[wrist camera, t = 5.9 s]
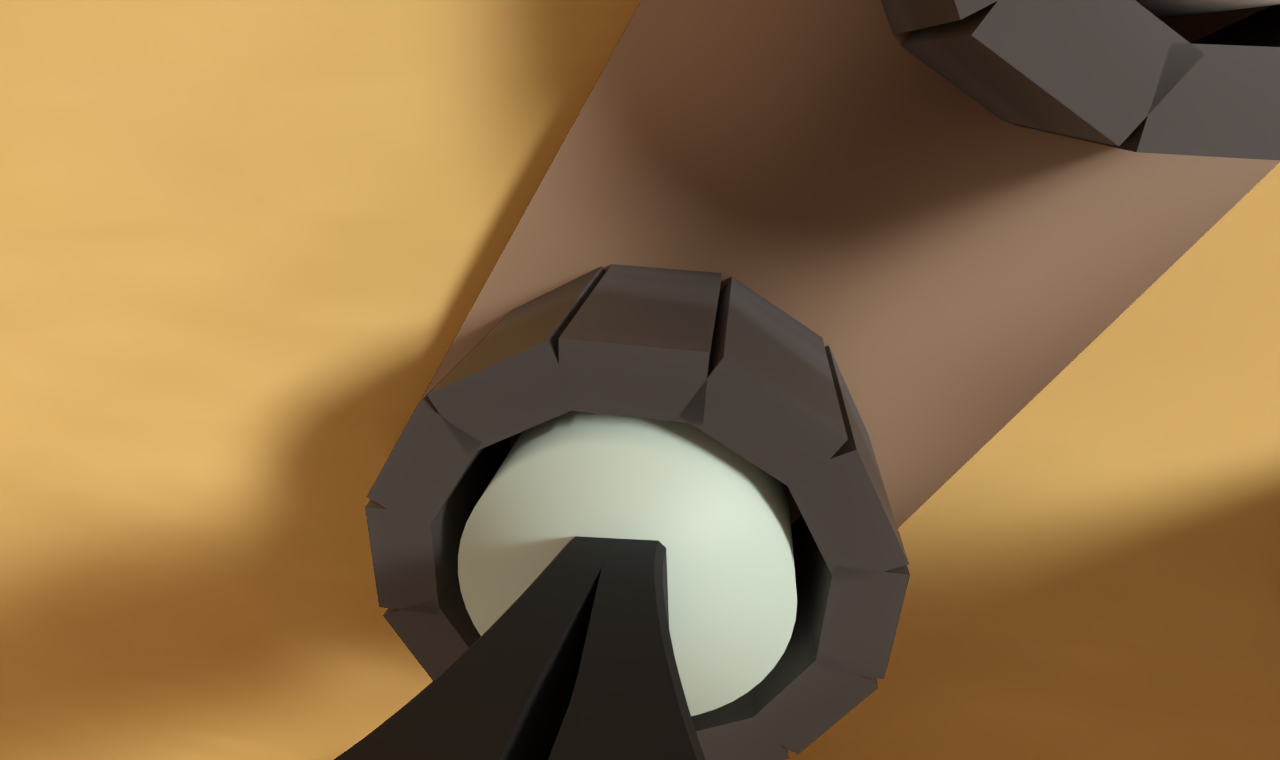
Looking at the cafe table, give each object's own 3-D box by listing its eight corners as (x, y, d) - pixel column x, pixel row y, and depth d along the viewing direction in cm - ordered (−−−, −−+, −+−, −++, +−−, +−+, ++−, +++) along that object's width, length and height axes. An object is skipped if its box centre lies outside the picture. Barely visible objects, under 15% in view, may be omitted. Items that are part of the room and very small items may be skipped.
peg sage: (843, 449, 13) (873, 576, 10) (688, 616, 15) (670, 766, 12) (610, 295, 12) (559, 376, 9) (482, 491, 14) (405, 613, 11)
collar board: (1715, -308, 8) (2635, -666, 4) (726, 665, 17) (717, 860, 13) (1132, -862, 7) (1599, -2008, 3) (392, 463, 16) (265, 602, 12)
